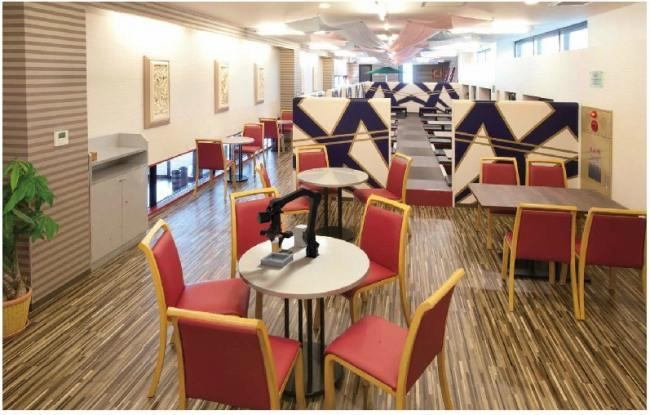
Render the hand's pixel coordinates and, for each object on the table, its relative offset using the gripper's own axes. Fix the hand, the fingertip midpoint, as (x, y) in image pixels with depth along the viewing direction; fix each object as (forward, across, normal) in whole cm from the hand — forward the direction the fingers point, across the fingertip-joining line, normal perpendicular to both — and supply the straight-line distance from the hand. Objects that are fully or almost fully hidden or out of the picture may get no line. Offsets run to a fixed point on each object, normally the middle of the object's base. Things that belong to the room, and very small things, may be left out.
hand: (276, 247), depth 298 cm
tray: (+9, 0, 0) cm, 9 cm away
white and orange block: (+2, 0, 0) cm, 2 cm away
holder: (+9, -3, +14) cm, 17 cm away
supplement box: (+9, +1, +33) cm, 34 cm away
